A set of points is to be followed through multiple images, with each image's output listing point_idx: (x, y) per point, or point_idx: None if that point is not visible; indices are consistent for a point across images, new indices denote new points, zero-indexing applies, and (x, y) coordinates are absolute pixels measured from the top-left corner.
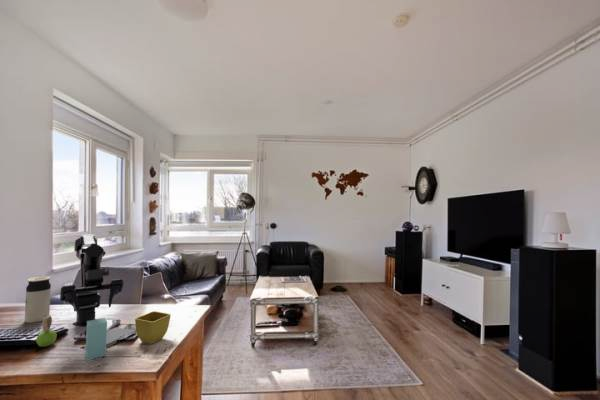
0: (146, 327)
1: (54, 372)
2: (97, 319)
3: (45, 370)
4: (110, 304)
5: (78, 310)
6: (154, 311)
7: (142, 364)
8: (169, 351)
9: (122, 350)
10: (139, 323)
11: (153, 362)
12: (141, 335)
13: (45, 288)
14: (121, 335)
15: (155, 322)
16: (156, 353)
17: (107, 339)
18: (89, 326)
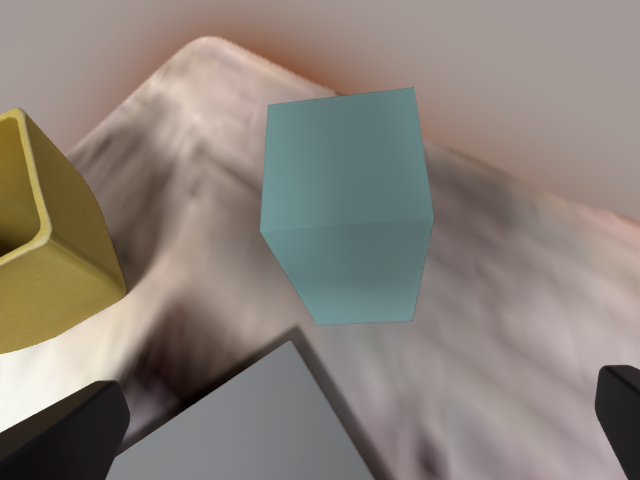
0: (63, 177)
1: (539, 188)
2: (331, 212)
3: (594, 233)
4: (83, 388)
5: (626, 374)
6: None
7: (215, 84)
8: (98, 129)
9: (237, 249)
10: (63, 212)
11: (181, 80)
12: (110, 249)
13: None
14: (180, 444)
15: (5, 123)
16: (140, 138)
17: (274, 430)
18: (406, 97)
